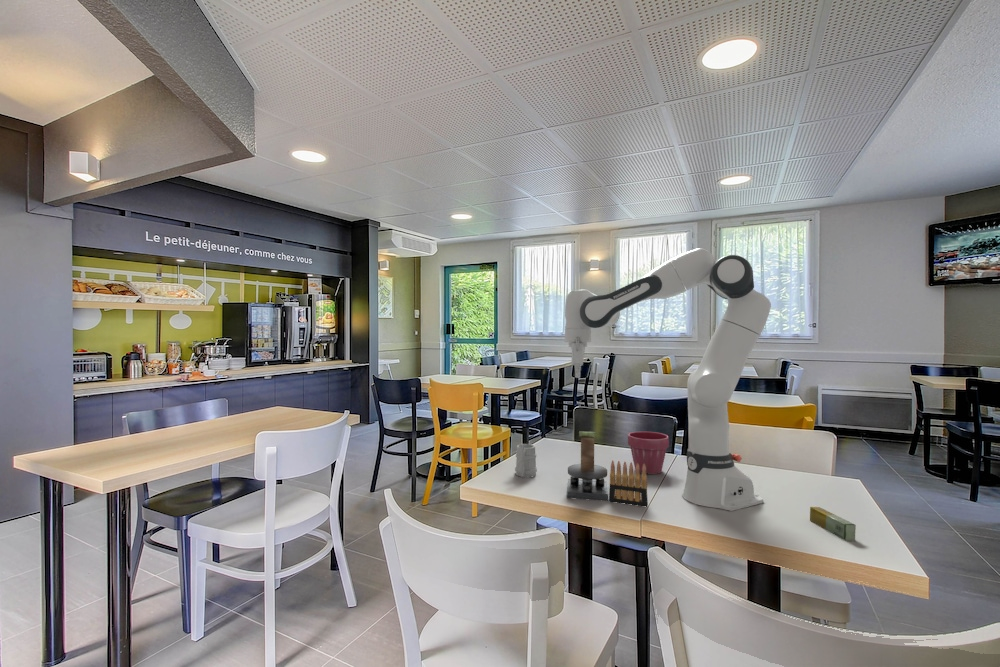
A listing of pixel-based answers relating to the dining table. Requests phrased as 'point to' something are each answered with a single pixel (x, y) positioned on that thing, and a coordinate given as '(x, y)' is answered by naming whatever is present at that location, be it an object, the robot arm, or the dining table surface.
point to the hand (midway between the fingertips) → (577, 377)
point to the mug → (526, 460)
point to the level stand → (587, 489)
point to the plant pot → (648, 450)
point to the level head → (587, 460)
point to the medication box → (833, 523)
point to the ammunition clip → (628, 485)
